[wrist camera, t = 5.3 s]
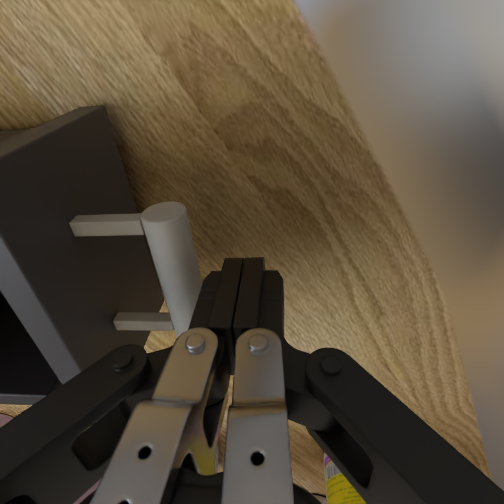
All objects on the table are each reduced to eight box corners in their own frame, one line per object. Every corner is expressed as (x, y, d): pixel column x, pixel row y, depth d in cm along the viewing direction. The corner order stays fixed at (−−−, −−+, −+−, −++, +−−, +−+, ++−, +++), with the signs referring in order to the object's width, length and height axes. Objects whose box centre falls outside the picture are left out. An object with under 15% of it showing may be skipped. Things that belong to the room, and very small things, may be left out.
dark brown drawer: (201, 97, 14) (130, 166, 8) (233, 299, 21) (207, 427, 14) (-176, 125, 17) (-467, 195, 10) (-42, 299, 23) (-169, 409, 17)
